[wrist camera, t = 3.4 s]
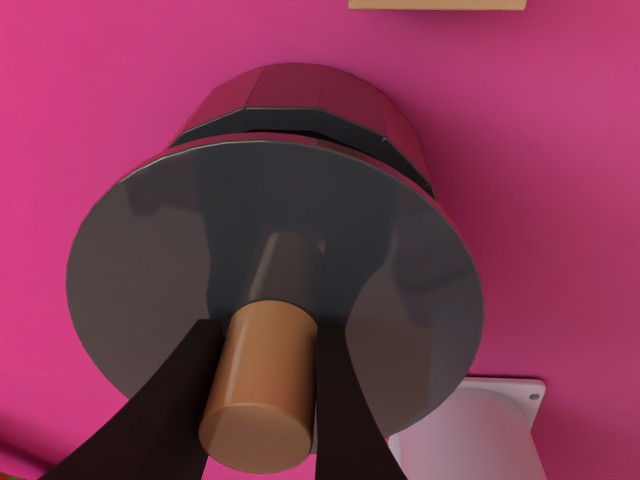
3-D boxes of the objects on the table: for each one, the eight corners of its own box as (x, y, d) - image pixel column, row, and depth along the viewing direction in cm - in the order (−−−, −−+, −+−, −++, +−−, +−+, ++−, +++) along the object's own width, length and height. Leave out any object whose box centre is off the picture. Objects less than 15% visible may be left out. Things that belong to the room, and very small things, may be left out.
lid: (446, 434, 18) (472, 573, 14) (130, 421, 18) (74, 553, 14) (516, 125, 11) (601, 229, 7) (26, 117, 12) (-125, 212, 8)
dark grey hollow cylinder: (412, 290, 24) (426, 371, 19) (195, 284, 24) (163, 362, 20) (442, 63, 18) (471, 109, 14) (154, 61, 18) (96, 104, 14)
